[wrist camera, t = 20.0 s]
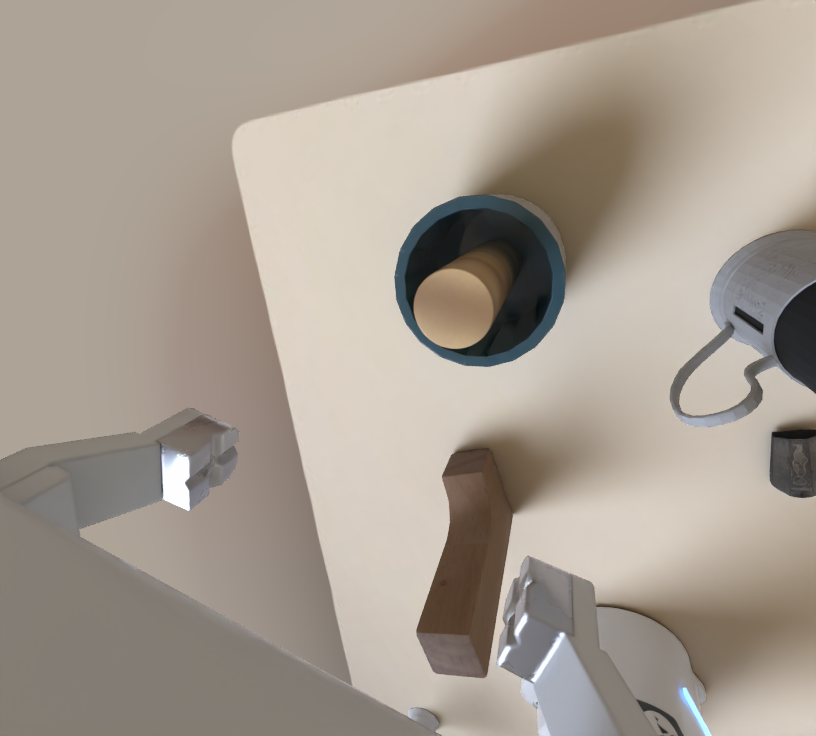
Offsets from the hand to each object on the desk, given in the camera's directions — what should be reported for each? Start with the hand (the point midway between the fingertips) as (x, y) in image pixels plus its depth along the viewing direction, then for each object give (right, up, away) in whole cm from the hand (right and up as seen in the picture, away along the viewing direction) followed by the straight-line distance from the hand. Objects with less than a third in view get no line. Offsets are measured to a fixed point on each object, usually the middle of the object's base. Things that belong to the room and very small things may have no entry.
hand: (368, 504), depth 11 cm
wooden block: (+9, -9, +36) cm, 38 cm away
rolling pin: (+9, +12, +26) cm, 30 cm away
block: (+33, -4, +25) cm, 42 cm away
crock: (+9, +13, +26) cm, 31 cm away
